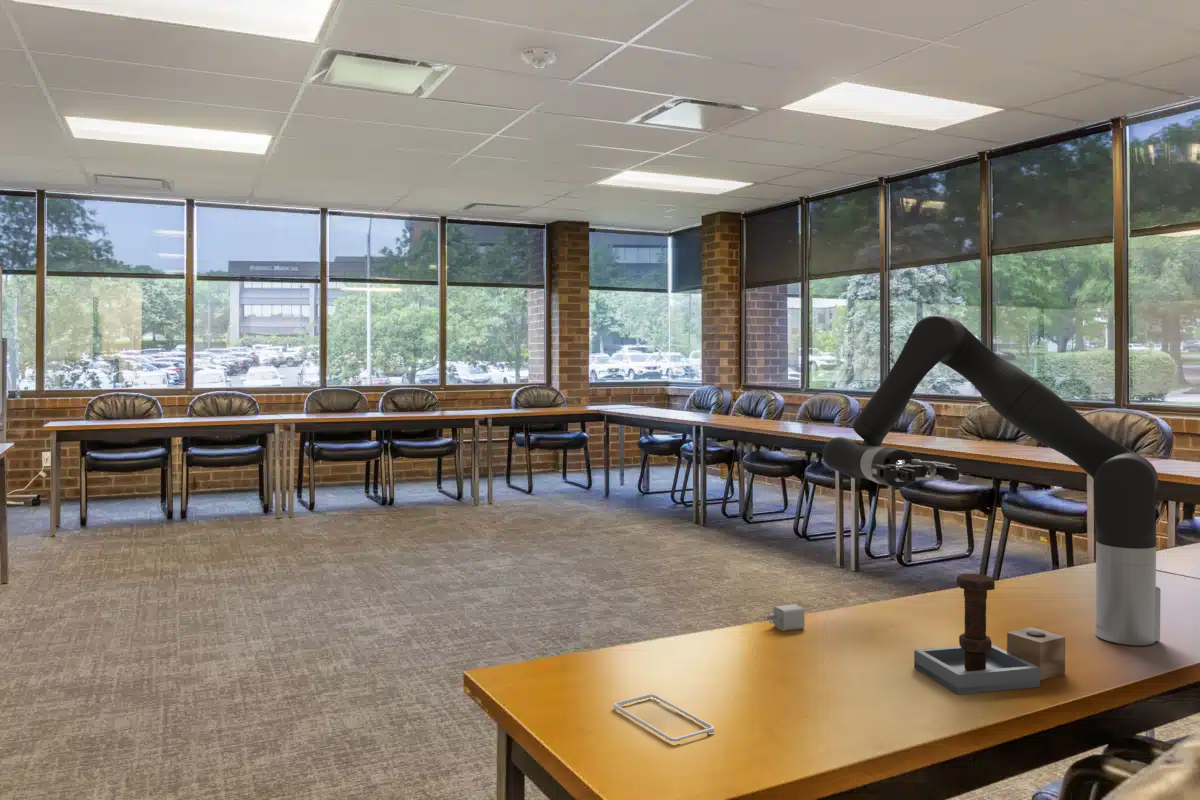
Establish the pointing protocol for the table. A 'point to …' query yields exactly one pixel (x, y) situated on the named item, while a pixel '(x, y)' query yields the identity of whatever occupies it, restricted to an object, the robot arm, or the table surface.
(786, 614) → the usb wall charger
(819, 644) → the table surface
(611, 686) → the table surface
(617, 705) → the phone case
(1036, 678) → the tray
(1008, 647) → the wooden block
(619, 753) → the table surface
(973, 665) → the bolt
